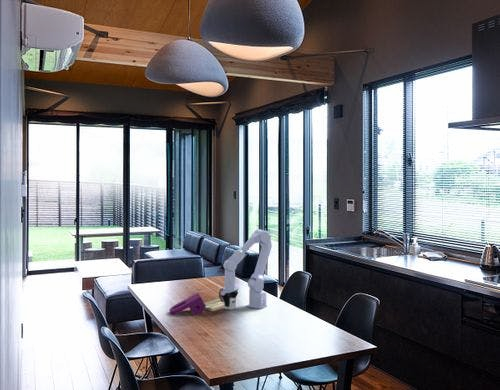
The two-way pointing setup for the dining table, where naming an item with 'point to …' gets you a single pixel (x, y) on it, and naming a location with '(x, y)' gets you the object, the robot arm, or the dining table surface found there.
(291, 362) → the dining table surface
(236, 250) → the robot arm
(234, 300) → the white block
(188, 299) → the mounting bracket
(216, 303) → the rail
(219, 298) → the tin
